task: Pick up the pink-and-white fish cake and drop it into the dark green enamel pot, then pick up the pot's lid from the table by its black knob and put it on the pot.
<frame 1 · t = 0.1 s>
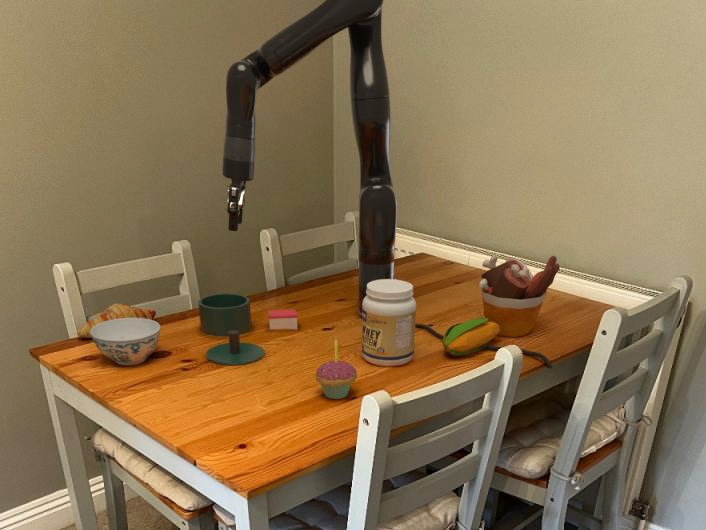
hand: (235, 226, 187), 22 cm above the table, tool pointing down, fingers open, 8 cm apart
chinaware: (131, 362, 169), on the table
cupcake: (336, 395, 155), on the table
bucket of meat: (510, 331, 191), on the table
supplement tub: (387, 358, 173), on the table
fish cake: (283, 328, 190), on the table
lid: (235, 354, 172), point 1 cm above the table
corn: (470, 350, 179), on the table
pot: (226, 330, 188), on the table
croissant: (118, 331, 186), on the table
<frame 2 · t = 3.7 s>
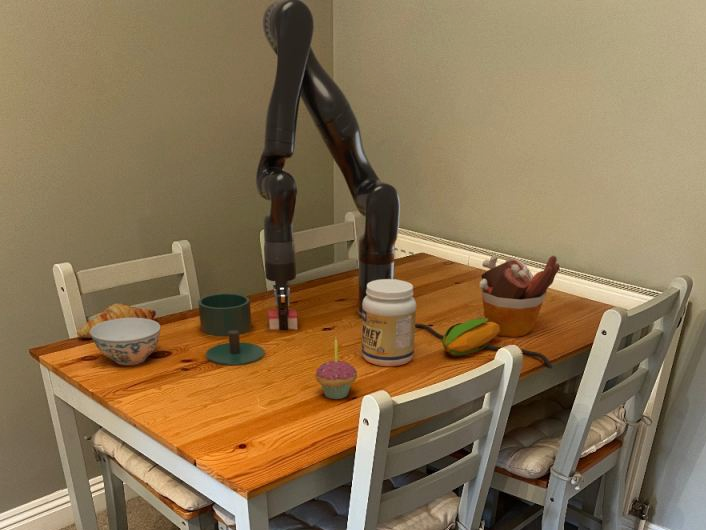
hand: (283, 326, 190), 0 cm above the table, tool pointing down, fingers closed on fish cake, 4 cm apart
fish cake: (283, 328, 190), on the table, touching gripper
everything else where it was.
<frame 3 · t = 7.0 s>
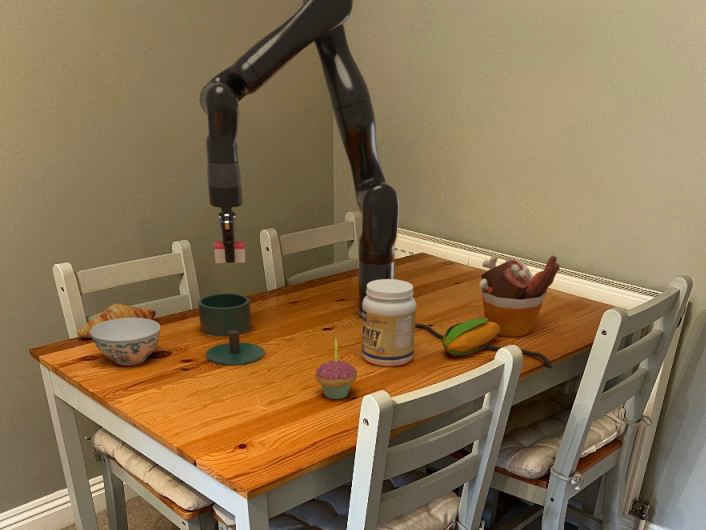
hand: (230, 259, 179), 17 cm above the table, tool pointing down, fingers closed on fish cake, 4 cm apart
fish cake: (230, 260, 179), point 17 cm above the table, touching gripper
everything else where it was.
when the fingers open (5 cm above the table, at t = 10.4 s): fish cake drops 4 cm, resting on pot.
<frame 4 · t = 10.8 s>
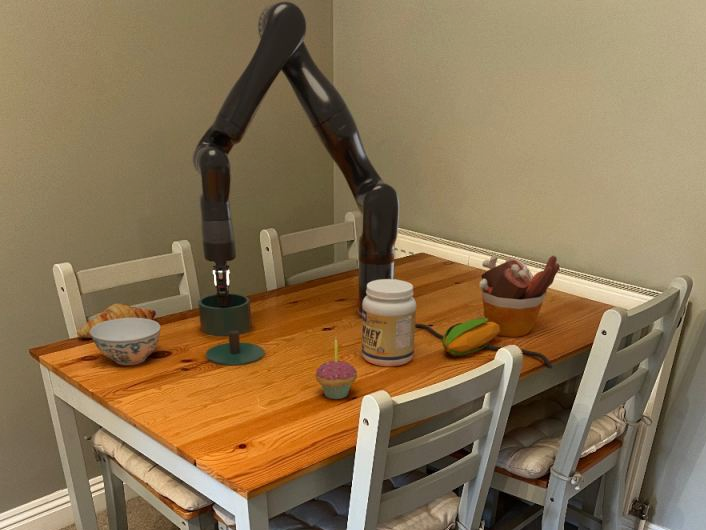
hand: (224, 306, 185), 6 cm above the table, tool pointing down, fingers open, 8 cm apart
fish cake: (226, 328, 188), point 1 cm above the table, touching pot
everything else where it was.
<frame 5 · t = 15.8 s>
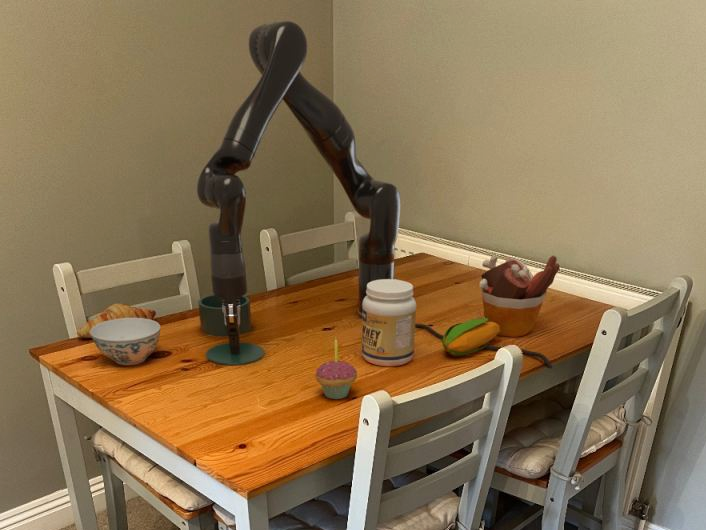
hand: (234, 347, 171), 2 cm above the table, tool pointing down, fingers closed on lid, 2 cm apart
lid: (235, 354, 172), point 1 cm above the table, touching gripper
everything else where it was.
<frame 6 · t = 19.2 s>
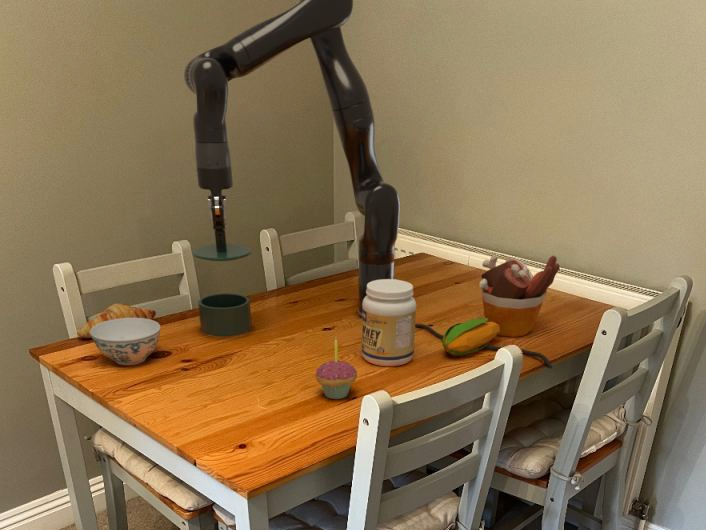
hand: (221, 245, 172), 22 cm above the table, tool pointing down, fingers closed on lid, 2 cm apart
lid: (221, 253, 173), point 20 cm above the table, touching gripper
everything else where it was.
when the fingers open (9 cm above the table, at t = 22.9 s): lid stays where it is, resting on pot.
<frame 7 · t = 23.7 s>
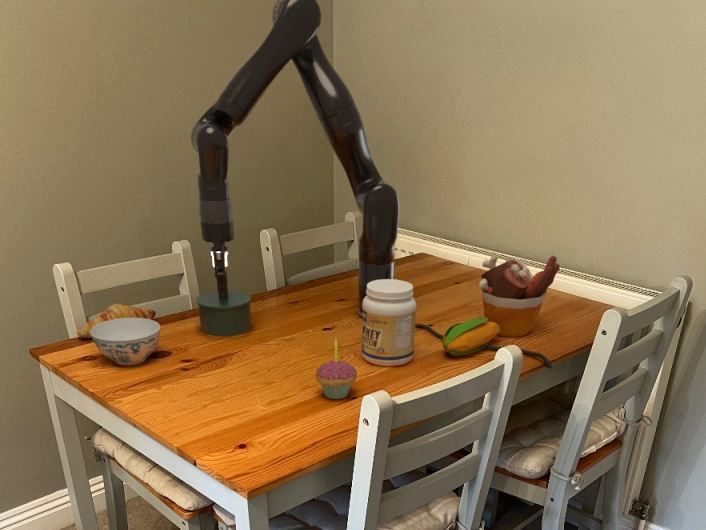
hand: (222, 288, 182), 11 cm above the table, tool pointing down, fingers open, 8 cm apart
lid: (223, 300, 184), point 7 cm above the table, touching pot
everything else where it was.
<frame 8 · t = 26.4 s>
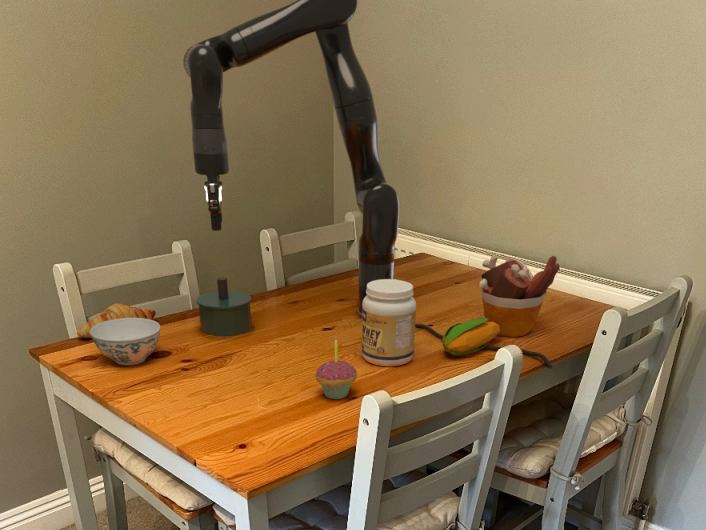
hand: (217, 226, 174), 25 cm above the table, tool pointing down, fingers open, 8 cm apart
nothing on the table moved.
at the end: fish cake inside the target area in the pot (0.1 cm from its centre), point 0.5 cm above the pot's base; lid 0.0 cm off-centre on the pot, point 7.5 cm above the pot's base; lid tilted 0° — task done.
